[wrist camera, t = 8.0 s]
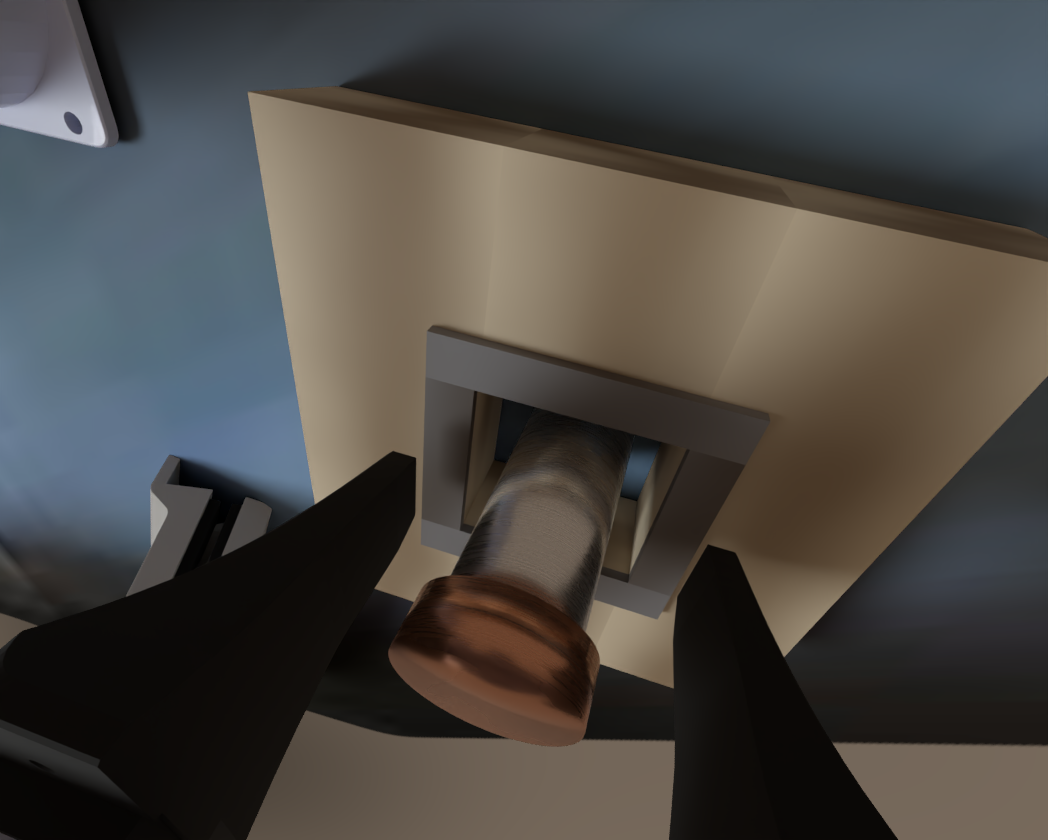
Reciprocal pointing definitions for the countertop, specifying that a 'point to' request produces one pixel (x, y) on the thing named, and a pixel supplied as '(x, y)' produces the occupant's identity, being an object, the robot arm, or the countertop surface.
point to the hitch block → (638, 343)
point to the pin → (523, 590)
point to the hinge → (192, 528)
